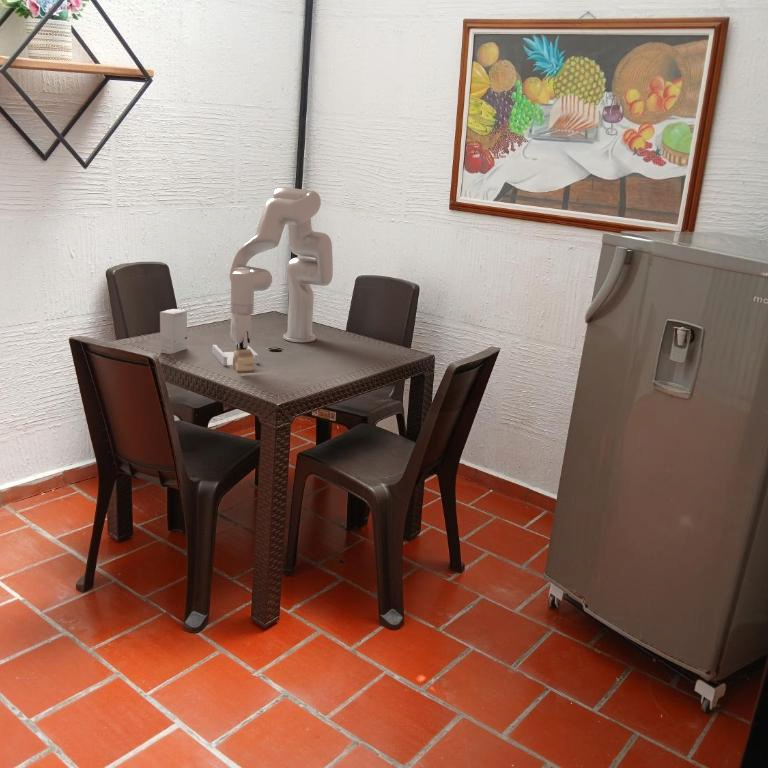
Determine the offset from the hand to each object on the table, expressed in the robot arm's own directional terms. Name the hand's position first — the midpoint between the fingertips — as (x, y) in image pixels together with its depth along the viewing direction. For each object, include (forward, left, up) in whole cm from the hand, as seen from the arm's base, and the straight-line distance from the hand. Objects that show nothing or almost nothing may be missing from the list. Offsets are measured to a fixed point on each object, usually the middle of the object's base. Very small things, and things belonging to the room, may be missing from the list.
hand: (241, 360), depth 274 cm
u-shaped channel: (-8, 0, -2) cm, 8 cm away
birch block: (+4, 0, -1) cm, 4 cm away
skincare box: (-22, -18, -2) cm, 29 cm away
